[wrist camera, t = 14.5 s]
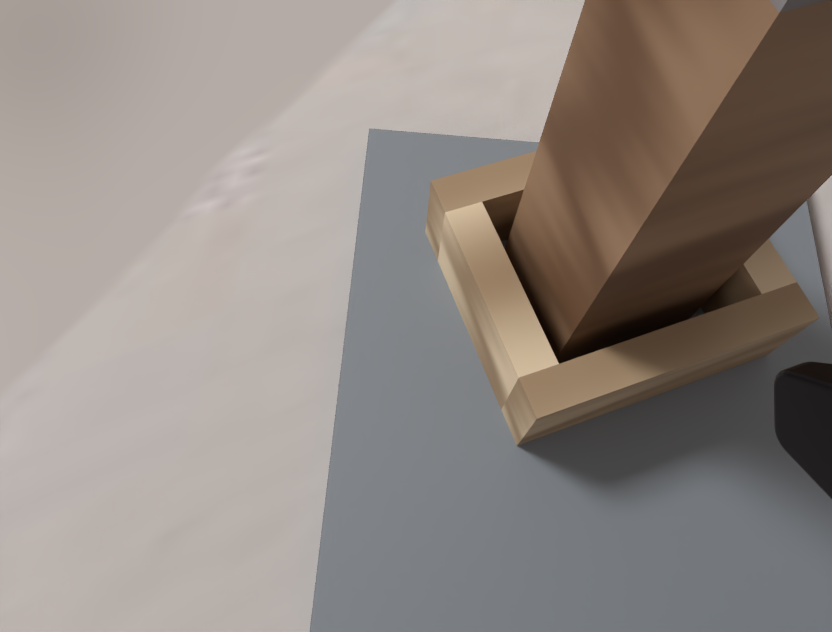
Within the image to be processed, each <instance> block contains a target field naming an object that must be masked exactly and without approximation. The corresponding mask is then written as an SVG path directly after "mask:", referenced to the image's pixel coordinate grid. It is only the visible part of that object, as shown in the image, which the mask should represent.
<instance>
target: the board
mask: <svg viewBox="0 0 832 632" xmlns="http://www.w3.org/2000/svg"><path fill="white" fill-rule="evenodd" d="M538 145H539V143H538V142H525V141H513V140H501V139H489V138H477V137H465V136H453V135H441V134H429V133H416V132H404V131H392V130H380V129H369V135H368V143H367V152H366V160H365V169H364V177H363V186H362V194H361V203H360V211H359V219H358V228H357V236H356V245H355V253H354V262H353V270H352V279H351V287H350V295H349V304H348V312H347V321H346V329H345V338H344V346H343V355H342V363H341V372H340V380H339V388H338V397H337V405H336V414H335V422H334V431H333V439H332V448H331V456H330V465H329V473H328V481H327V490H326V498H325V507H324V515H323V524H322V532H321V541H320V549H319V558H318V566H317V574H316V583H315V591H314V600H313V608H312V617H311V625H310V632H832V499H831V498H830V497H829V496H828V495H827V494H826V493H825V492H824V491H823V490H822V489H821V488H820V487H819V486H818V485H817V484H816V482H815V481H814V480H813V479H812V478H811V477H810V476H809V475H808V474H807V473H806V472H805V471H804V470H803V469H802V468H801V467H800V466H799V465H798V464H797V463H796V461H795V460H794V459H793V458H792V457H791V456H790V455H789V454H788V453H787V452H786V451H785V450H784V449H783V447H782V446H781V444H780V443H779V441H778V439H777V436H776V433H775V427H774V380H775V377H776V375H777V374H778V373H779V372H780V371H782V370H784V369H787V368H790V367H792V366H795V365H798V364H801V363H803V362H809V361H813V362H822V363H830V364H832V328H831V323H830V318H829V313H828V308H827V302H826V297H825V292H824V287H823V282H822V277H821V272H820V267H819V261H818V256H817V251H816V246H815V241H814V236H813V231H812V226H811V220H810V215H809V210H808V205H807V200H806V201H805V202H804V203H803V204H802V205H801V206H800V207H799V208H798V209H797V210H796V211H795V212H794V213H793V214H792V216H791V217H790V218H789V219H788V220H787V221H786V222H785V223H784V224H783V225H782V226H781V227H780V228H779V229H778V230H777V231H776V232H775V233H774V234H773V235H772V236H771V237H770V238H769V240H770V241H771V243H772V244H773V246H774V248H775V249H776V251H777V252H778V254H779V255H780V257H781V258H782V260H783V261H784V263H785V264H786V266H787V268H788V269H789V271H790V272H791V274H792V275H793V277H794V278H795V280H796V281H797V283H798V285H799V286H800V288H801V289H802V291H803V292H804V294H805V295H806V297H807V298H808V300H809V302H810V303H811V305H812V306H813V308H814V309H815V311H816V312H817V314H818V315H819V317H820V318H819V319H817V320H816V321H814V322H813V323H812V324H810V325H809V326H807V327H806V328H805V329H803V330H802V331H800V332H799V333H798V334H796V335H795V336H793V337H792V338H790V339H789V340H788V341H786V342H785V343H783V344H782V345H781V346H779V347H778V348H776V349H775V350H774V351H772V352H771V353H769V354H768V355H766V356H763V357H761V358H758V359H755V360H752V361H750V362H747V363H744V364H741V365H739V366H736V367H733V368H730V369H728V370H725V371H722V372H719V373H717V374H714V375H711V376H708V377H706V378H703V379H700V380H697V381H695V382H692V383H689V384H686V385H683V386H681V387H678V388H675V389H672V390H670V391H667V392H664V393H661V394H659V395H656V396H653V397H650V398H648V399H645V400H642V401H639V402H637V403H634V404H631V405H628V406H626V407H623V408H620V409H617V410H615V411H612V412H609V413H606V414H604V415H601V416H598V417H595V418H593V419H590V420H587V421H584V422H582V423H579V424H576V425H573V426H571V427H568V428H565V429H562V430H560V431H557V432H554V433H551V434H549V435H546V436H543V437H540V438H537V439H535V440H532V441H529V442H526V443H524V444H521V445H518V446H517V445H516V443H515V441H514V438H513V436H512V434H511V431H510V429H509V427H508V424H507V422H506V420H505V417H504V415H503V413H502V410H501V408H500V406H499V403H498V401H497V399H496V396H495V394H494V392H493V389H492V387H491V385H490V382H489V380H488V377H487V375H486V373H485V370H484V368H483V366H482V363H481V361H480V359H479V356H478V354H477V352H476V349H475V347H474V345H473V342H472V340H471V338H470V335H469V333H468V331H467V328H466V326H465V324H464V321H463V319H462V317H461V314H460V312H459V310H458V307H457V305H456V303H455V300H454V298H453V296H452V293H451V291H450V289H449V286H448V284H447V281H446V279H445V277H444V274H443V272H442V270H441V267H440V265H439V263H438V260H437V258H436V256H435V253H434V251H433V249H432V246H431V244H430V242H429V239H428V237H427V235H426V232H425V230H426V220H427V211H428V202H429V193H430V183H431V180H435V179H438V178H442V177H445V176H449V175H453V174H456V173H460V172H463V171H467V170H470V169H474V168H477V167H481V166H485V165H488V164H492V163H495V162H499V161H502V160H506V159H509V158H513V157H517V156H520V155H524V154H527V153H531V152H534V151H537V148H538ZM507 241H508V240H505V241H501V243H502V245H503V247H504V249H505V247H506V244H507ZM703 314H704V312H703V310H702V308H701V307H700V308H699V309H698V310H697V311H696V312H695V313H694V314H693V315H692V316H691V317H690V318H689V319H691V318H694V317H697V316H700V315H703Z"/></svg>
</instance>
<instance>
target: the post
mask: <svg viewBox="0 0 832 632" xmlns="http://www.w3.org/2000/svg"><path fill="white" fill-rule="evenodd" d="M831 175H832V0H585V3H584V6H583V9H582V12H581V15H580V18H579V21H578V24H577V27H576V30H575V34H574V37H573V40H572V43H571V46H570V49H569V52H568V55H567V58H566V61H565V64H564V68H563V71H562V74H561V77H560V80H559V83H558V86H557V89H556V92H555V95H554V99H553V102H552V105H551V108H550V111H549V114H548V117H547V120H546V123H545V126H544V129H543V133H542V136H541V139H540V142H539V145H538V148H537V151H536V154H535V157H534V160H533V164H532V167H531V170H530V173H529V176H528V179H527V182H526V185H525V188H524V191H523V194H522V198H521V201H520V204H519V207H518V210H517V213H516V216H515V219H514V222H513V225H512V229H511V232H510V235H509V238H508V241H507V244H506V247H505V251H506V253H507V255H508V257H509V260H510V262H511V264H512V266H513V268H514V270H515V272H516V274H517V276H518V279H519V281H520V283H521V285H522V287H523V289H524V291H525V293H526V295H527V298H528V300H529V302H530V304H531V306H532V308H533V310H534V312H535V315H536V317H537V319H538V321H539V323H540V325H541V327H542V329H543V331H544V334H545V336H546V338H547V340H548V342H549V344H550V346H551V348H552V350H553V353H554V355H555V357H556V359H557V361H558V363H559V364H560V363H563V362H566V361H569V360H572V359H575V358H578V357H580V356H583V355H586V354H589V353H592V352H595V351H598V350H601V349H604V348H607V347H610V346H612V345H615V344H618V343H621V342H624V341H627V340H630V339H633V338H636V337H639V336H642V335H644V334H647V333H650V332H653V331H656V330H659V329H662V328H665V327H668V326H671V325H674V324H676V323H679V322H682V321H685V320H688V319H689V318H690V317H691V316H692V315H693V314H694V313H695V312H696V311H697V310H698V309H699V308H700V307H701V306H702V305H703V304H704V303H705V302H706V301H707V300H708V299H709V298H710V297H711V296H712V295H713V294H714V293H715V292H716V291H717V290H718V289H719V288H720V287H721V286H722V285H723V284H724V283H725V282H726V281H727V280H728V279H729V278H730V277H731V276H732V275H733V274H734V273H735V272H736V271H737V270H738V269H739V268H740V267H741V266H742V265H743V264H744V263H745V262H746V261H747V260H748V259H749V258H750V257H751V256H752V255H753V254H754V253H755V252H756V251H757V250H758V249H759V248H760V247H761V246H762V245H763V244H764V243H765V242H766V241H767V240H768V239H769V238H770V237H771V236H772V235H773V234H774V233H775V232H776V231H777V230H778V229H779V228H780V227H781V226H782V225H783V224H784V223H785V222H786V221H787V220H788V219H789V218H790V217H791V216H792V214H793V213H794V212H795V211H796V210H797V209H798V208H799V207H800V206H801V205H802V204H803V203H804V202H805V201H806V200H807V199H808V198H809V197H810V196H811V195H812V194H813V193H814V192H815V191H816V190H817V189H818V188H819V187H820V186H821V185H822V184H823V183H824V182H825V181H826V180H827V179H828V178H829V177H830V176H831Z"/></svg>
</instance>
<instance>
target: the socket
mask: <svg viewBox="0 0 832 632" xmlns="http://www.w3.org/2000/svg"><path fill="white" fill-rule="evenodd" d="M535 154H536V151H534V152H531V153H527V154H524V155H520V156H517V157H513V158H509V159H506V160H502V161H499V162H495V163H492V164H488V165H485V166H481V167H477V168H474V169H470V170H467V171H463V172H460V173H456V174H453V175H449V176H445V177H442V178H438V179H435V180H431V183H430V193H429V202H428V211H427V220H426V230H425V232H426V235H427V237H428V239H429V242H430V244H431V246H432V249H433V251H434V253H435V256H436V258H437V260H438V263H439V265H440V267H441V270H442V272H443V274H444V277H445V279H446V281H447V284H448V286H449V289H450V291H451V293H452V296H453V298H454V300H455V303H456V305H457V307H458V310H459V312H460V314H461V317H462V319H463V321H464V324H465V326H466V328H467V331H468V333H469V335H470V338H471V340H472V342H473V345H474V347H475V349H476V352H477V354H478V356H479V359H480V361H481V363H482V366H483V368H484V370H485V373H486V375H487V377H488V380H489V382H490V385H491V387H492V389H493V392H494V394H495V396H496V399H497V401H498V403H499V406H500V408H501V410H502V413H503V415H504V417H505V420H506V422H507V424H508V427H509V429H510V431H511V434H512V436H513V438H514V441H515V443H516V445H517V446H518V445H521V444H524V443H526V442H529V441H532V440H535V439H537V438H540V437H543V436H546V435H549V434H551V433H554V432H557V431H560V430H562V429H565V428H568V427H571V426H573V425H576V424H579V423H582V422H584V421H587V420H590V419H593V418H595V417H598V416H601V415H604V414H606V413H609V412H612V411H615V410H617V409H620V408H623V407H626V406H628V405H631V404H634V403H637V402H639V401H642V400H645V399H648V398H650V397H653V396H656V395H659V394H661V393H664V392H667V391H670V390H672V389H675V388H678V387H681V386H683V385H686V384H689V383H692V382H695V381H697V380H700V379H703V378H706V377H708V376H711V375H714V374H717V373H719V372H722V371H725V370H728V369H730V368H733V367H736V366H739V365H741V364H744V363H747V362H750V361H752V360H755V359H758V358H761V357H763V356H766V355H768V354H769V353H771V352H772V351H774V350H775V349H776V348H778V347H779V346H781V345H782V344H783V343H785V342H786V341H788V340H789V339H790V338H792V337H793V336H795V335H796V334H798V333H799V332H800V331H802V330H803V329H805V328H806V327H807V326H809V325H810V324H812V323H813V322H814V321H816V320H817V319H819V318H820V317H819V315H818V314H817V312H816V311H815V309H814V308H813V306H812V305H811V303H810V302H809V300H808V298H807V297H806V295H805V294H804V292H803V291H802V289H801V288H800V286H799V285H798V283H797V281H796V280H795V278H794V277H793V275H792V274H791V272H790V271H789V269H788V268H787V266H786V264H785V263H784V261H783V260H782V258H781V257H780V255H779V254H778V252H777V251H776V249H775V248H774V246H773V244H772V243H771V241H770V240H769V239H768V240H767V241H766V242H765V243H764V244H763V245H762V246H761V247H760V248H759V249H758V250H757V251H756V252H755V253H754V254H753V255H752V256H751V257H750V258H749V259H748V260H747V261H746V262H745V263H744V264H743V265H742V266H741V267H740V268H739V269H738V270H737V271H736V272H735V273H734V274H733V275H732V276H731V277H730V278H729V279H728V280H727V281H726V282H725V283H724V284H723V285H722V286H721V287H720V288H719V289H718V290H717V291H716V292H715V293H714V294H713V295H712V296H711V297H710V298H709V299H708V300H707V301H706V302H705V303H704V304H703V305H702V306H701V308H702V310H703V312H704V314H703V315H700V316H697V317H694V318H691V319H688V320H685V321H682V322H679V323H676V324H674V325H671V326H668V327H665V328H662V329H659V330H656V331H653V332H650V333H647V334H644V335H642V336H639V337H636V338H633V339H630V340H627V341H624V342H621V343H618V344H615V345H612V346H610V347H607V348H604V349H601V350H598V351H595V352H592V353H589V354H586V355H583V356H580V357H578V358H575V359H572V360H569V361H566V362H563V363H560V364H559V363H558V361H557V359H556V357H555V355H554V353H553V350H552V348H551V346H550V344H549V342H548V340H547V338H546V336H545V334H544V331H543V329H542V327H541V325H540V323H539V321H538V319H537V317H536V315H535V312H534V310H533V308H532V306H531V304H530V302H529V300H528V298H527V295H526V293H525V291H524V289H523V287H522V285H521V283H520V281H519V279H518V276H517V274H516V272H515V270H514V268H513V266H512V264H511V262H510V260H509V257H508V255H507V253H506V251H505V249H504V247H503V245H502V243H501V241H505V240H508V238H509V235H510V232H511V229H512V225H513V222H514V219H515V216H516V213H517V210H518V207H519V204H520V201H521V198H522V194H523V191H524V188H525V185H526V182H527V179H528V176H529V173H530V170H531V167H532V164H533V160H534V157H535Z"/></svg>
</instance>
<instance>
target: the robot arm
mask: <svg viewBox="0 0 832 632" xmlns="http://www.w3.org/2000/svg"><path fill="white" fill-rule="evenodd" d="M774 427H775V433H776V436H777V439H778V441H779V443H780V444H781V446H782V447H783V449H784V450H785V451H786V452H787V453H788V454H789V455H790V456H791V457H792V458H793V459H794V460H795V461H796V463H797V464H798V465H799V466H800V467H801V468H802V469H803V470H804V471H805V472H806V473H807V474H808V475H809V476H810V477H811V478H812V479H813V480H814V481H815V482H816V484H817V485H818V486H819V487H820V488H821V489H822V490H823V491H824V492H825V493H826V494H827V495H828V496H829V497H830V498H831V499H832V364H830V363H822V362H813V361H809V362H803V363H801V364H798V365H795V366H792V367H790V368H787V369H784V370H782V371H780V372H779V373H778V374H777V375H776V377H775V380H774Z"/></svg>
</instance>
